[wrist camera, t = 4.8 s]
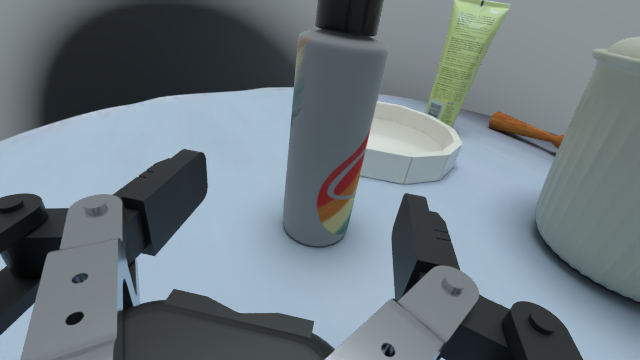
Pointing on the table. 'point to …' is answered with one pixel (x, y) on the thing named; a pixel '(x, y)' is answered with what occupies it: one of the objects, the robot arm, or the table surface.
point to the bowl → (408, 146)
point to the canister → (600, 177)
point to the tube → (463, 54)
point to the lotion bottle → (331, 118)
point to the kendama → (521, 128)
